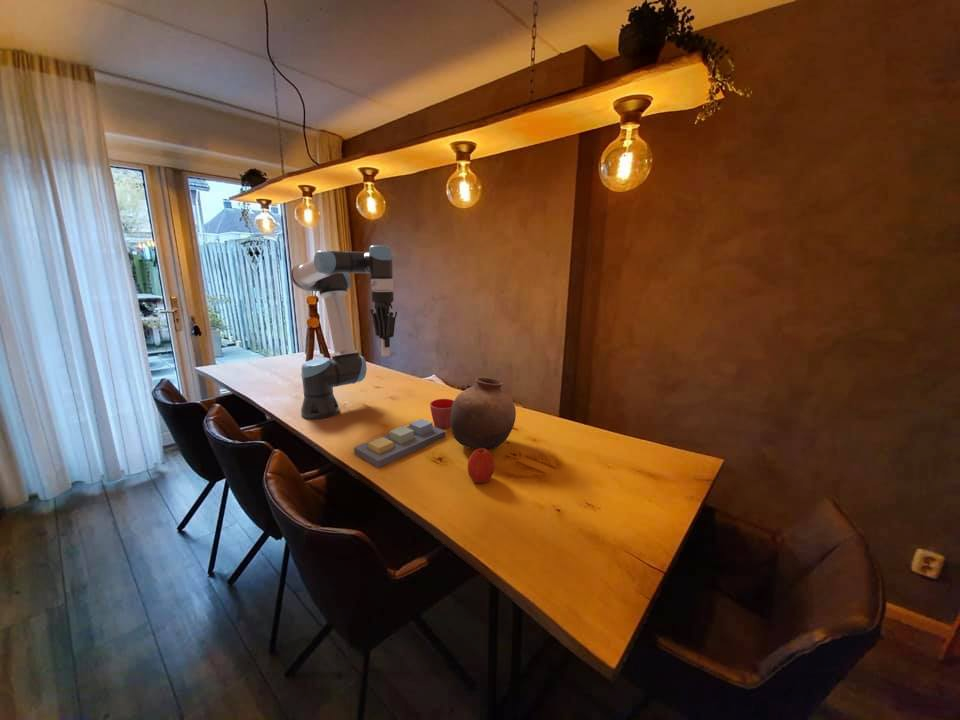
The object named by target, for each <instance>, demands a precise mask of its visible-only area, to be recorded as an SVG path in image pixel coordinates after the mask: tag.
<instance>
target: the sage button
mask: <svg viewBox="0 0 960 720" xmlns="http://www.w3.org/2000/svg"><path fill="white" fill-rule="evenodd" d="M389 433H390V440H391V441H393V442H395V443H397V444H399V445H402V444H404V443H407V442H409V441H411V440H414V430H411V429H409V428H407V426H404V425H402V426H399V427H396V428H394V429H391V430H389Z"/></svg>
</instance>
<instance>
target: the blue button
mask: <svg viewBox="0 0 960 720" xmlns="http://www.w3.org/2000/svg"><path fill="white" fill-rule="evenodd" d="M409 426H410V429H411V430H414V434H415V435H418V436H423V435H425V434H427V433H430V432H432V426H433V422H431V421H429V420H425V419H423V418H420V419H418V420H415V421H413V422H410V423H409Z"/></svg>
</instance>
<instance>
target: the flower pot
mask: <svg viewBox="0 0 960 720" xmlns="http://www.w3.org/2000/svg"><path fill="white" fill-rule="evenodd" d="M454 400H455V399H450V398H449V399H448V398H438V399H433V400H432V401H431V402H430V403H429V407H430V412H431V417H432V421H433V422H432V423H433V426H434V427H437V428H439V429H442V430H448V429H451V424H450V416H451V409H452V405H453V403H454Z"/></svg>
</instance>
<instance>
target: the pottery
mask: <svg viewBox="0 0 960 720" xmlns="http://www.w3.org/2000/svg"><path fill="white" fill-rule="evenodd" d="M475 382H476V385H474V386H470V387H468V388H466V389H465V390H463V391H461V392H460V393H458V395H457V396H456V397H455V399H453V400H454V403H453V405H452V409H451V416H450V424H451V428H450V429H451V432H452V435H453V437H454V439H455V441H456V442H457V443H458V444H460V445H462V446H464V447H466V448H468V449H471V450H474V451H475V450H476V449H479V448H484V449H486V450H488V451H492V450H495V449H497V448H498V447H500V446H501V445H502V444H505V442H506V441H507V439H508V438H509V436H510V435H511V433H512V431H513V428H514V425H515V422H516V416H517V414H516V412H517V411H516V406H515V403H514V402H513V400H512V398H511V397H510V396H509V395H508V394H507V393H506V392H505V391H503V390H502V388H501V387H502V386H503V385H504V382H503V381H501V380H498V379H495V378H490V377H489V378H488V377H476V378H475Z"/></svg>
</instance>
